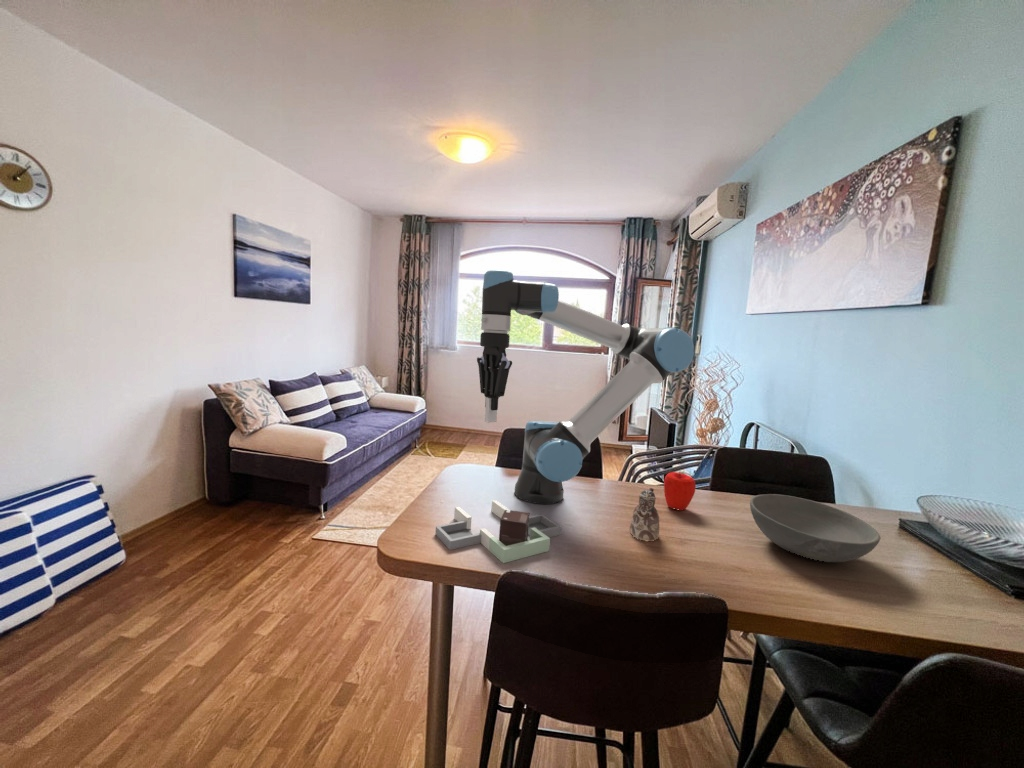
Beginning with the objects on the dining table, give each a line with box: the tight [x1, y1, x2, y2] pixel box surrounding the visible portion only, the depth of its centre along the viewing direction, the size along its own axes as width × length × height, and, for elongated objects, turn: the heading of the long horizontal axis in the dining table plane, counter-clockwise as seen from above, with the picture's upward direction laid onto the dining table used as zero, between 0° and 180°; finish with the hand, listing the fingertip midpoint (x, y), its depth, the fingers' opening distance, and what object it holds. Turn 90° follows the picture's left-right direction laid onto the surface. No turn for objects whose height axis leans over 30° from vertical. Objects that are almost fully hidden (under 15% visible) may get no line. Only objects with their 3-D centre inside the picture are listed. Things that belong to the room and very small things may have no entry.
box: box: [498, 509, 530, 546], centre depth 96 cm, size 6×6×7 cm
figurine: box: [629, 487, 660, 541], centre depth 107 cm, size 7×7×12 cm
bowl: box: [749, 493, 881, 563], centre depth 105 cm, size 26×26×10 cm
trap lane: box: [434, 499, 562, 564], centre depth 102 cm, size 28×24×3 cm
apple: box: [663, 471, 696, 511], centre depth 127 cm, size 9×9×11 cm
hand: (490, 421), depth 111 cm, fingers closed
